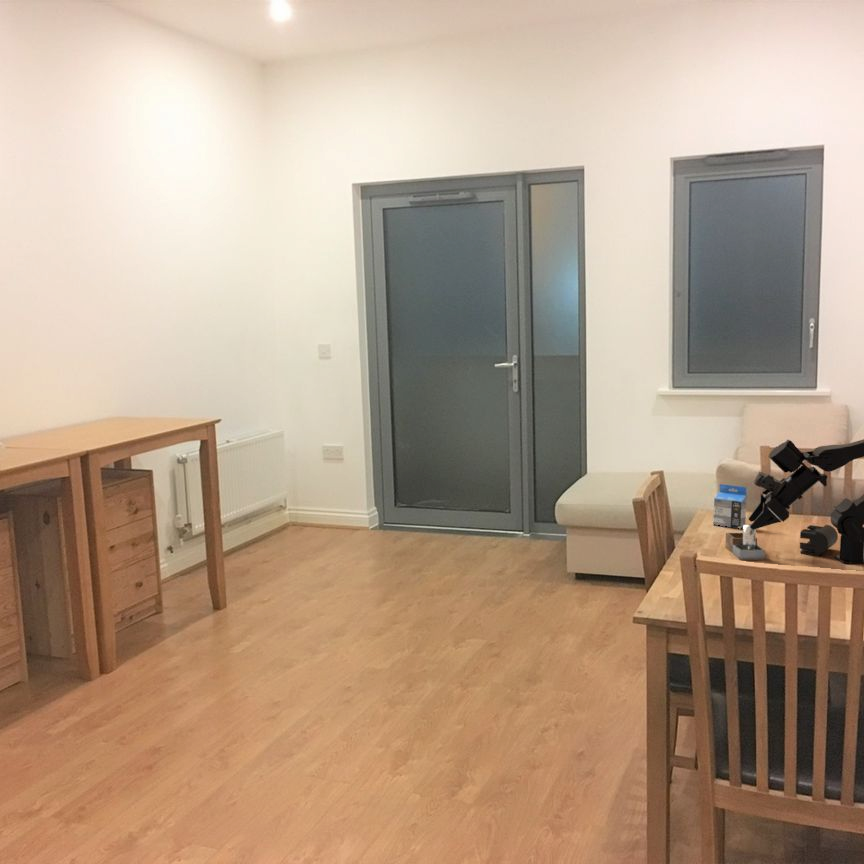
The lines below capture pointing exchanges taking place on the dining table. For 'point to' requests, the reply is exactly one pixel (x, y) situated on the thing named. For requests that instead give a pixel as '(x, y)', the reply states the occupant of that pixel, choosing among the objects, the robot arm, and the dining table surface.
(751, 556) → the tray
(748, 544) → the axle pin
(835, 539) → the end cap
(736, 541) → the bore block
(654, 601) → the dining table surface
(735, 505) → the label tape box
